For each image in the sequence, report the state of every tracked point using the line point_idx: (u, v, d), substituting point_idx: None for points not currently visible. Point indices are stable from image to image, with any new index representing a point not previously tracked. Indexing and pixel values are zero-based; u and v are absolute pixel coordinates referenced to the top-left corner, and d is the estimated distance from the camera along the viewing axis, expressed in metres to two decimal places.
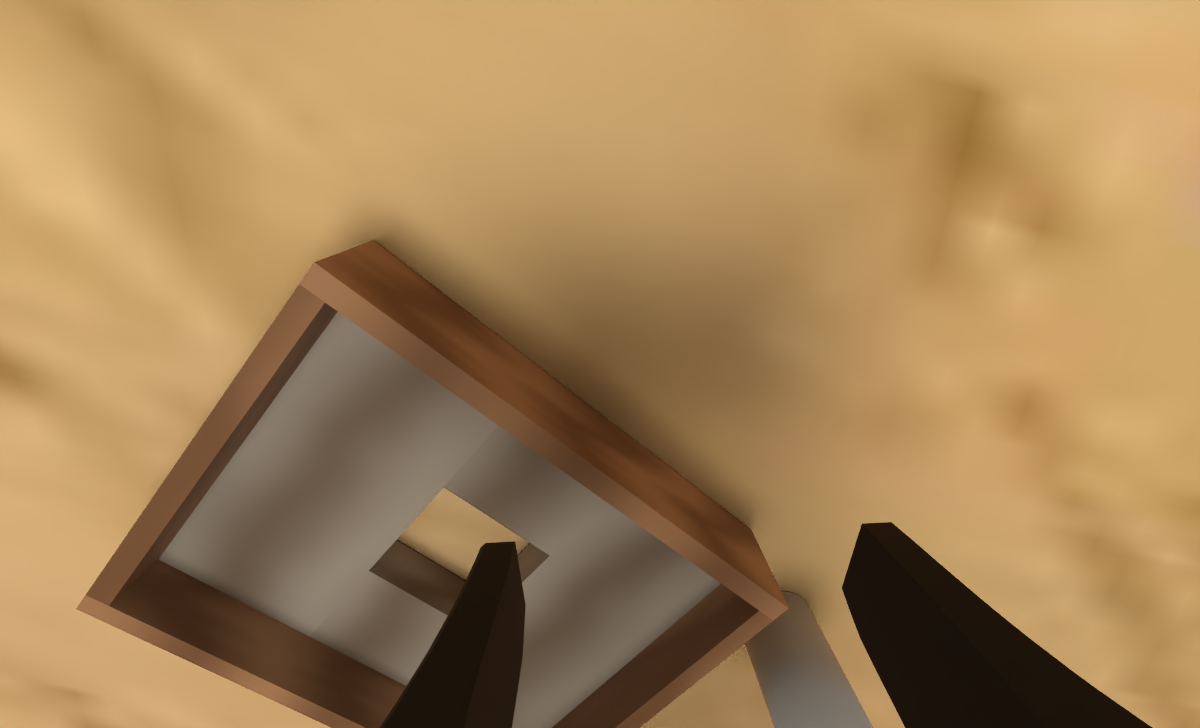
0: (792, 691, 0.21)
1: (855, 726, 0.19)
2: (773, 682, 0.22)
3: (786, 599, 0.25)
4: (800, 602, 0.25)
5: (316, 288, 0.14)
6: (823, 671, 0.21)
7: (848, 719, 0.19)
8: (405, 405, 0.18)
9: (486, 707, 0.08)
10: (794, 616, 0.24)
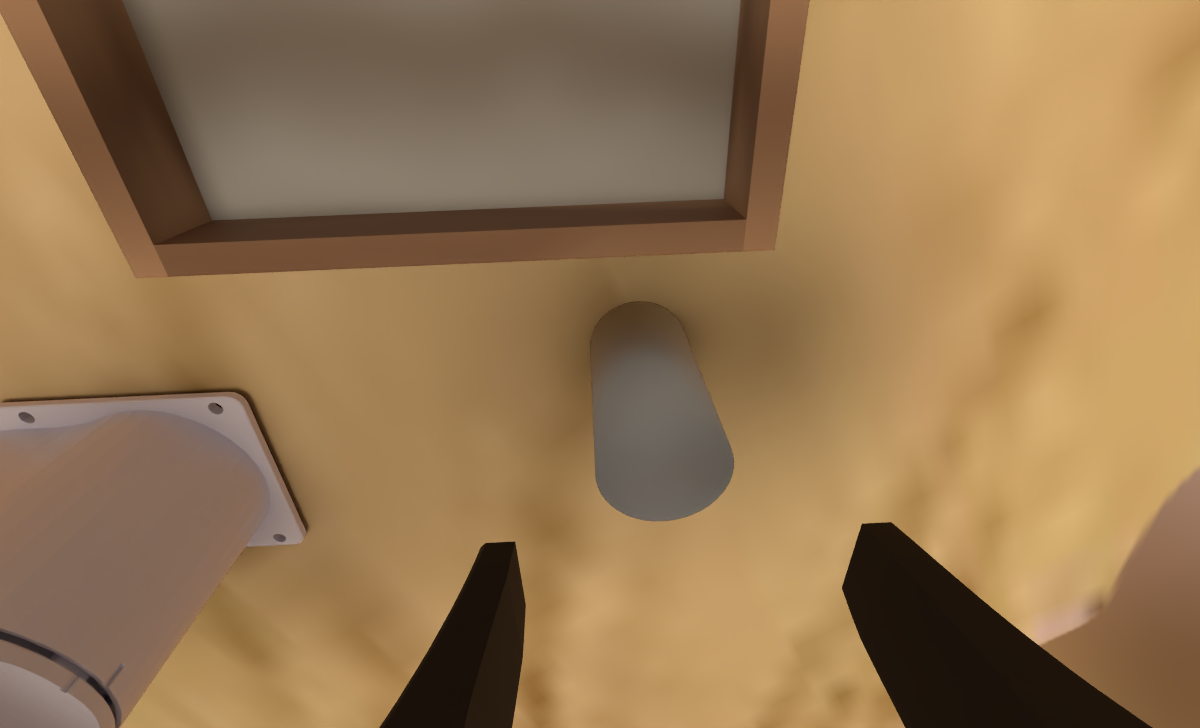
0: (664, 369, 0.14)
1: (724, 432, 0.13)
2: (637, 357, 0.15)
3: (680, 324, 0.18)
4: None
5: None
6: (703, 381, 0.15)
7: (719, 422, 0.14)
8: None
9: (486, 707, 0.08)
10: (684, 337, 0.18)
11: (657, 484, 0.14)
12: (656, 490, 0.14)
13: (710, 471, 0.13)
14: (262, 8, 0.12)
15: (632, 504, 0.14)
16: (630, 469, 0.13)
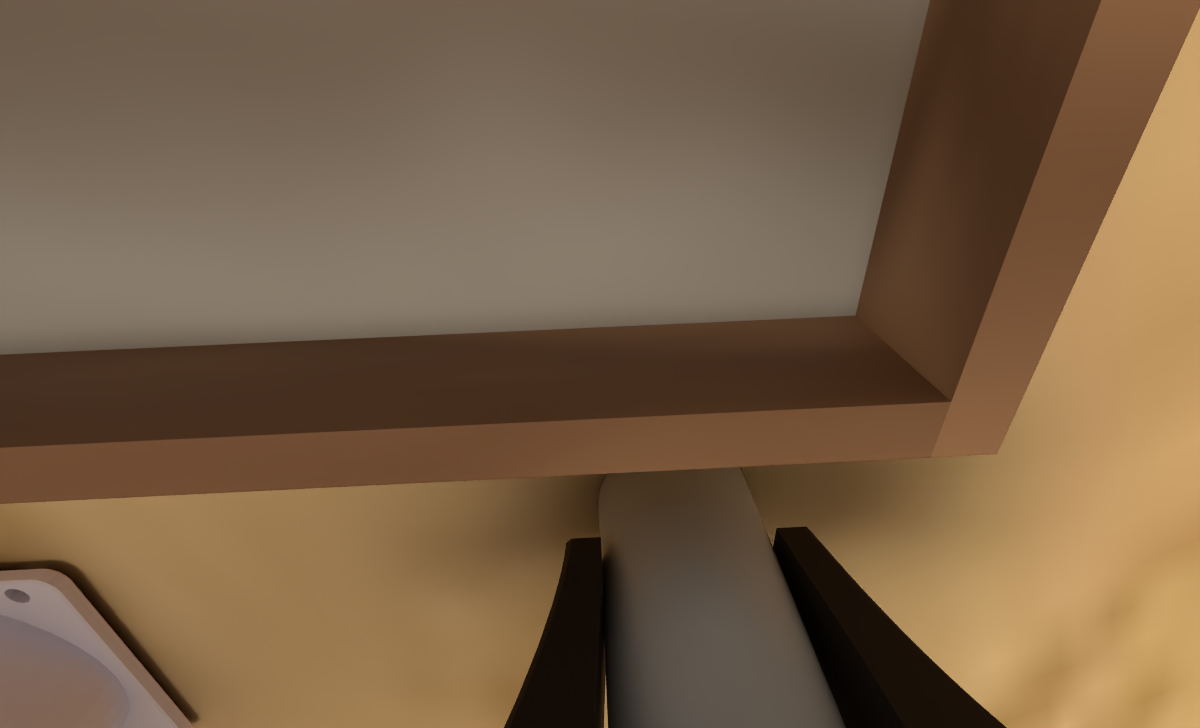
0: (745, 646, 0.07)
1: None
2: (689, 600, 0.08)
3: (742, 478, 0.12)
4: None
5: None
6: (808, 641, 0.08)
7: None
8: None
9: (598, 701, 0.08)
10: (755, 511, 0.11)
11: None
12: None
13: None
14: None
15: None
16: None
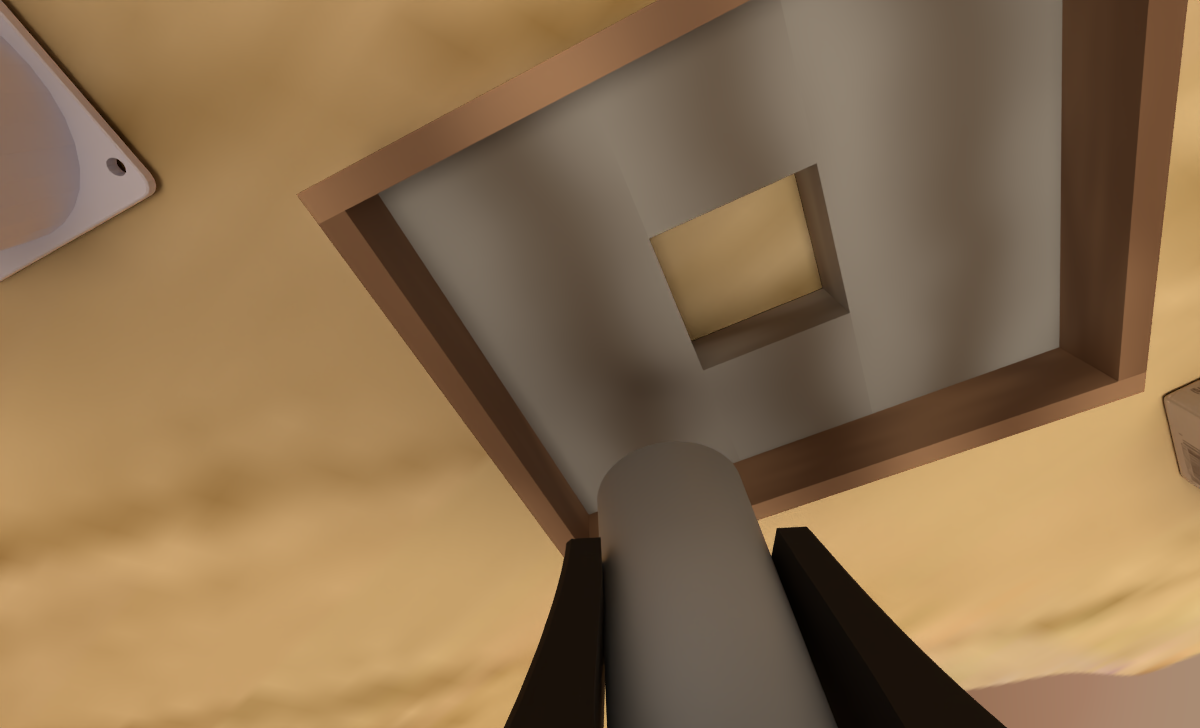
0: (748, 644, 0.08)
1: None
2: (693, 598, 0.08)
3: (741, 481, 0.12)
4: None
5: (1130, 381, 0.16)
6: (803, 642, 0.09)
7: None
8: (947, 325, 0.18)
9: (598, 701, 0.08)
10: (753, 514, 0.11)
11: None
12: None
13: None
14: (574, 219, 0.15)
15: None
16: None
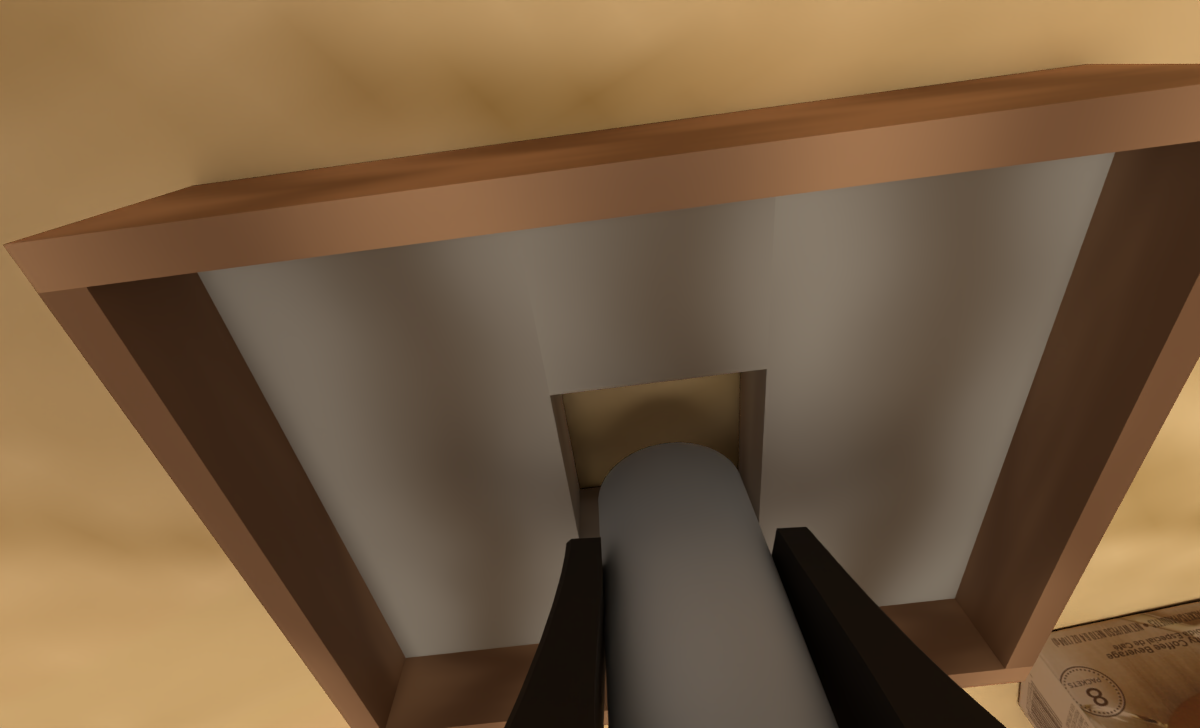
0: (750, 647, 0.08)
1: None
2: (695, 599, 0.08)
3: (742, 483, 0.12)
4: None
5: (1016, 671, 0.15)
6: (805, 644, 0.09)
7: None
8: (855, 556, 0.16)
9: (598, 701, 0.08)
10: (754, 515, 0.11)
11: None
12: None
13: None
14: (459, 350, 0.12)
15: None
16: None
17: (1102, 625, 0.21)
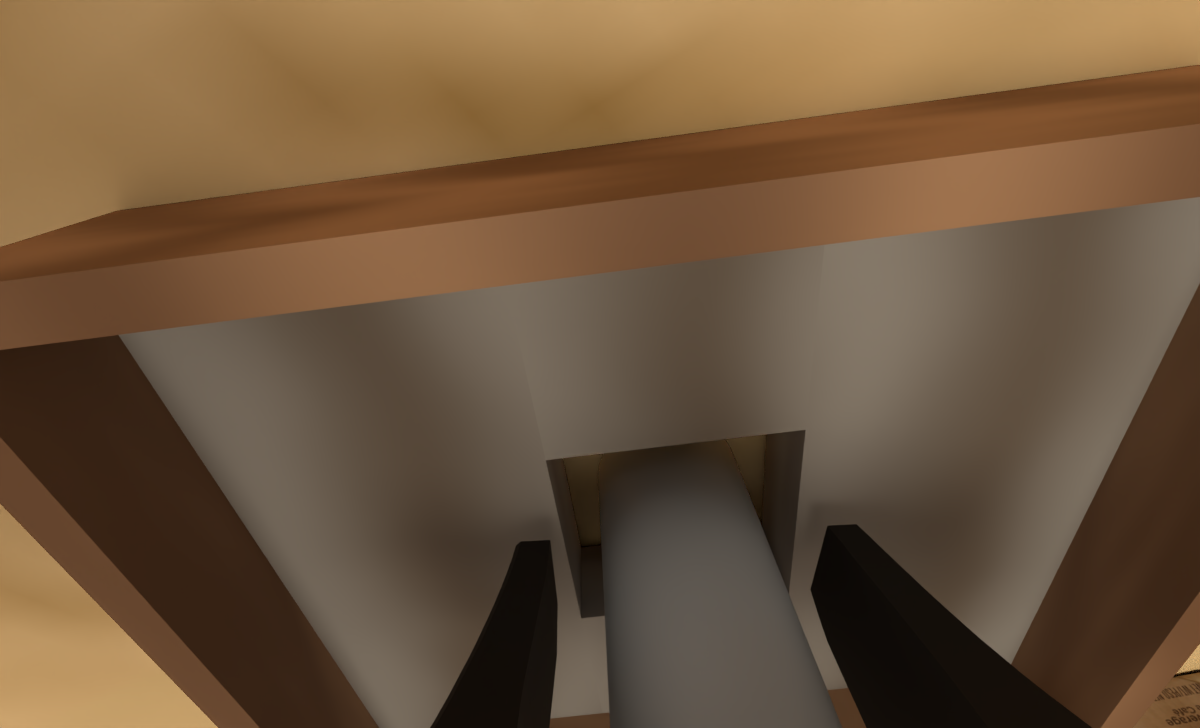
0: (736, 588, 0.09)
1: None
2: (686, 550, 0.09)
3: (733, 456, 0.13)
4: None
5: None
6: (787, 593, 0.09)
7: (834, 710, 0.08)
8: None
9: (532, 704, 0.08)
10: (743, 484, 0.12)
11: None
12: None
13: None
14: (437, 410, 0.10)
15: None
16: None
17: None
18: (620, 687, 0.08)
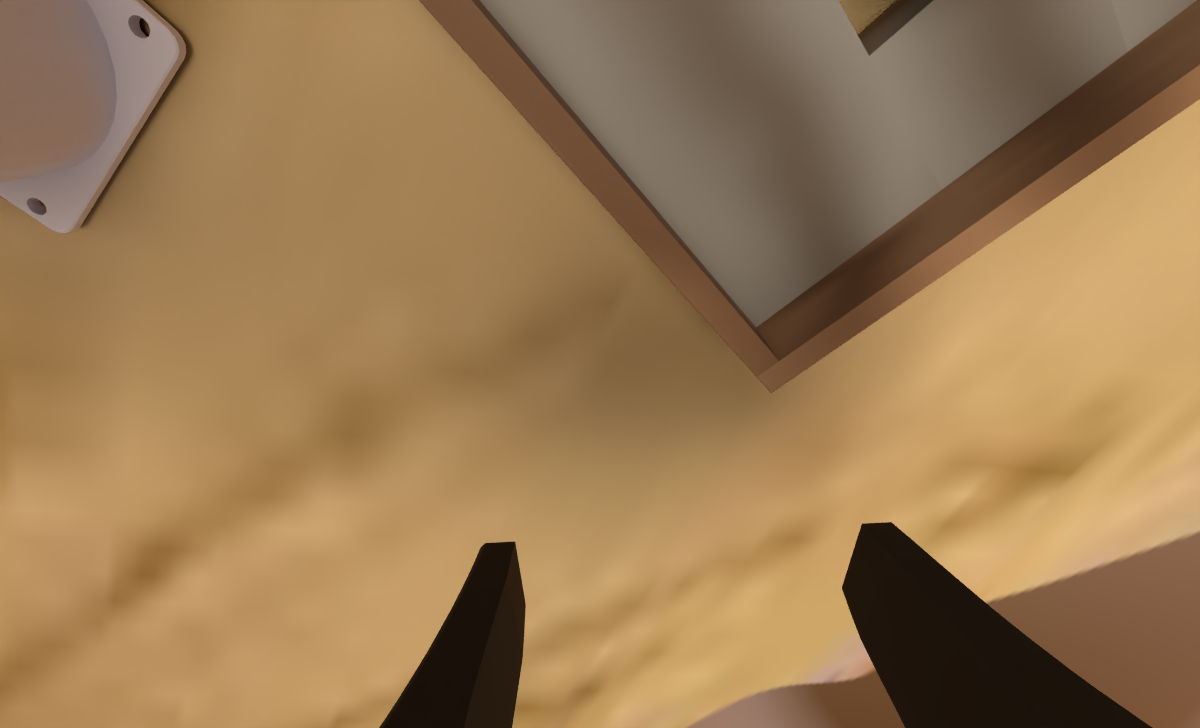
0: None
1: None
2: None
3: None
4: None
5: None
6: None
7: None
8: None
9: (486, 707, 0.08)
10: None
11: None
12: None
13: None
14: None
15: None
16: None
17: None
18: None
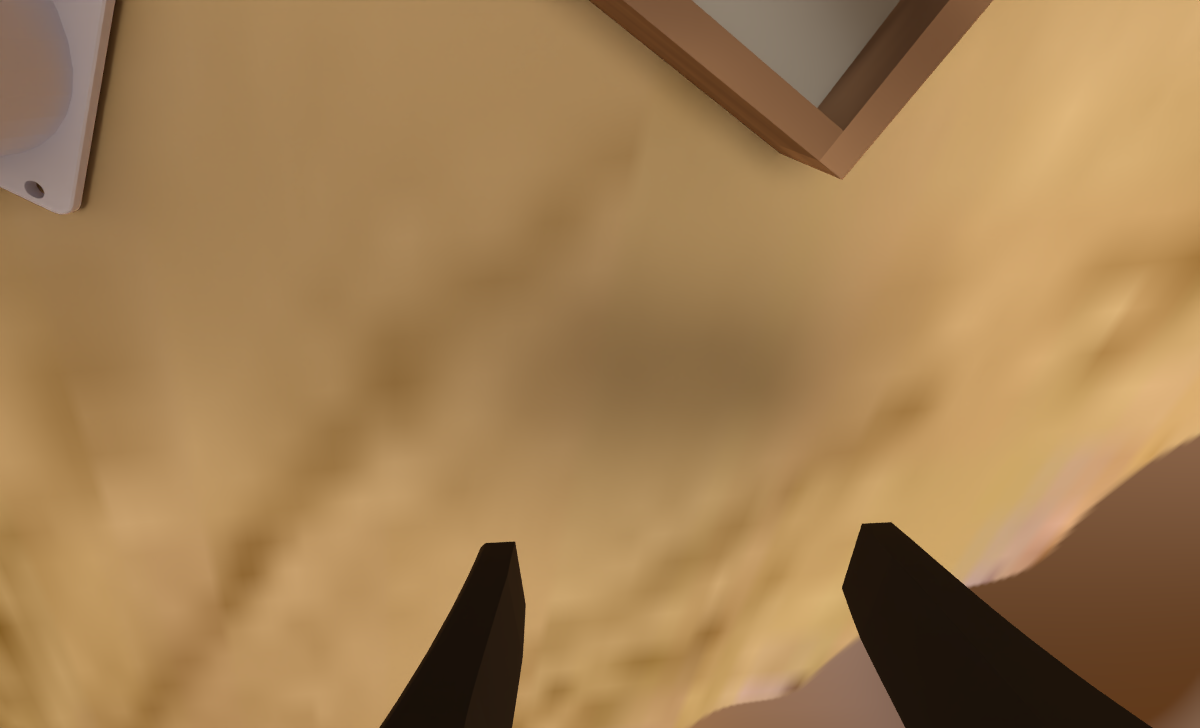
0: None
1: None
2: None
3: None
4: None
5: None
6: None
7: None
8: None
9: (486, 707, 0.08)
10: None
11: None
12: None
13: None
14: None
15: None
16: None
17: None
18: None
